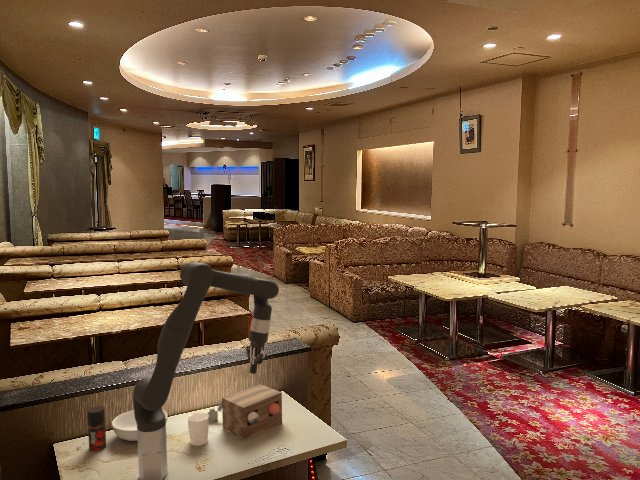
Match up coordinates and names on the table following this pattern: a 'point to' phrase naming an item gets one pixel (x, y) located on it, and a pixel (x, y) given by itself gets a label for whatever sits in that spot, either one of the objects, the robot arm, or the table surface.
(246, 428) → the socket block
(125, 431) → the serving bowl
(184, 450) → the table surface
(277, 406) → the red plug
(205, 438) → the white cup
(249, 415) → the grey plug
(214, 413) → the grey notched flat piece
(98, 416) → the deodorant
